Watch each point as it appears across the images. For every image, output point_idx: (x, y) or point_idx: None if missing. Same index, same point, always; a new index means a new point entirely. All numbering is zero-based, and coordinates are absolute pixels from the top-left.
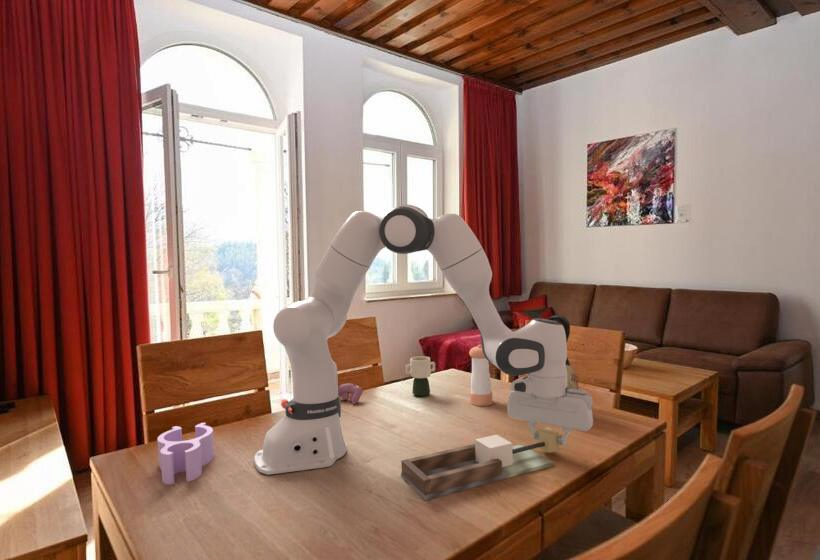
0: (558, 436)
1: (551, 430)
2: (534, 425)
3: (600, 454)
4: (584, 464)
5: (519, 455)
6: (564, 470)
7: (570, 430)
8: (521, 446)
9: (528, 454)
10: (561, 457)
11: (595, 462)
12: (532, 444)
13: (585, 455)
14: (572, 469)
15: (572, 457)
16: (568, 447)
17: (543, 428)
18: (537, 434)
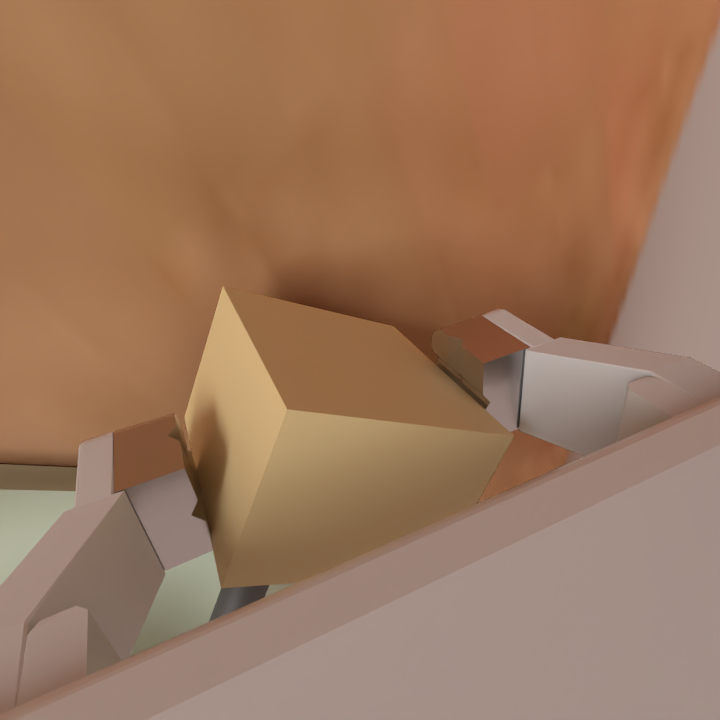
0: (476, 410)
1: (403, 456)
2: (69, 589)
3: (668, 24)
4: (575, 320)
5: (172, 628)
6: (491, 478)
7: (679, 365)
8: (9, 520)
9: (215, 567)
10: (411, 341)
11: (634, 232)
12: (244, 599)
13: (561, 151)
14: (526, 434)
15: (482, 275)
16: (372, 48)
17: (258, 493)
18: (209, 541)
